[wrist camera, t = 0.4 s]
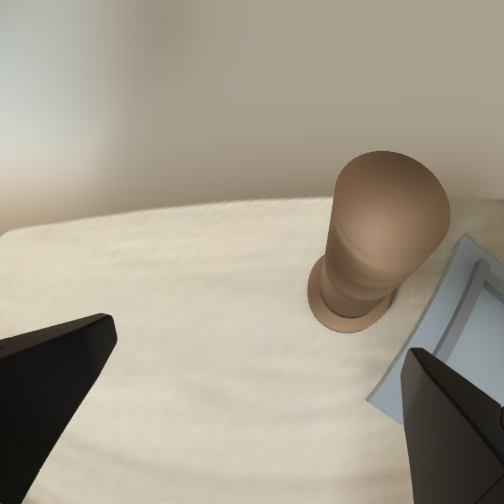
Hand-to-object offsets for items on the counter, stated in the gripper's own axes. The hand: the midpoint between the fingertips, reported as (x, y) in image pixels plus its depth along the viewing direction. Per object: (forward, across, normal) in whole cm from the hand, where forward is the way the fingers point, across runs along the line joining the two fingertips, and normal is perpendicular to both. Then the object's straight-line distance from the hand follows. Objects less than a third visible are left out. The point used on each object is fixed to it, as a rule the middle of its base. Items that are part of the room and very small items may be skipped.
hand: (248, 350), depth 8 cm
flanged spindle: (+14, -4, +4) cm, 15 cm away
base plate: (+10, -17, +8) cm, 21 cm away
